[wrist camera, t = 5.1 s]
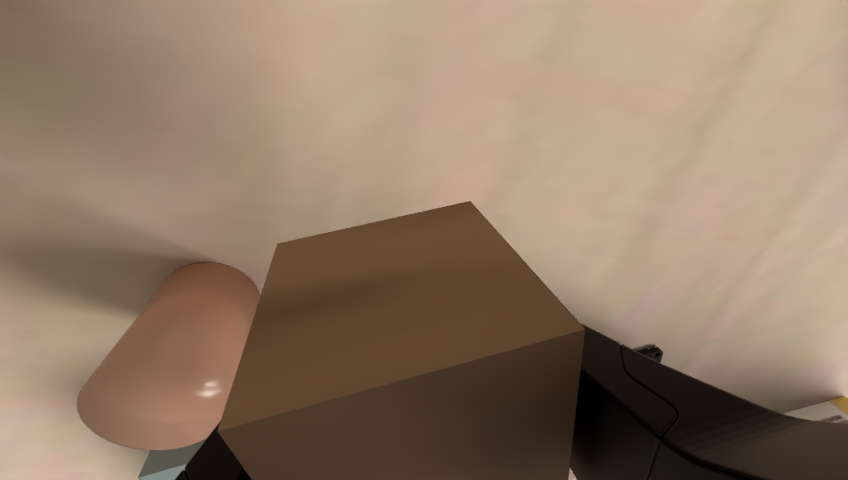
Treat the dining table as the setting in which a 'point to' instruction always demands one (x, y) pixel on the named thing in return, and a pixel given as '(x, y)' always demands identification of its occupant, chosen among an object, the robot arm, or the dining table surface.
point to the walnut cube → (406, 359)
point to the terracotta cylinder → (174, 362)
